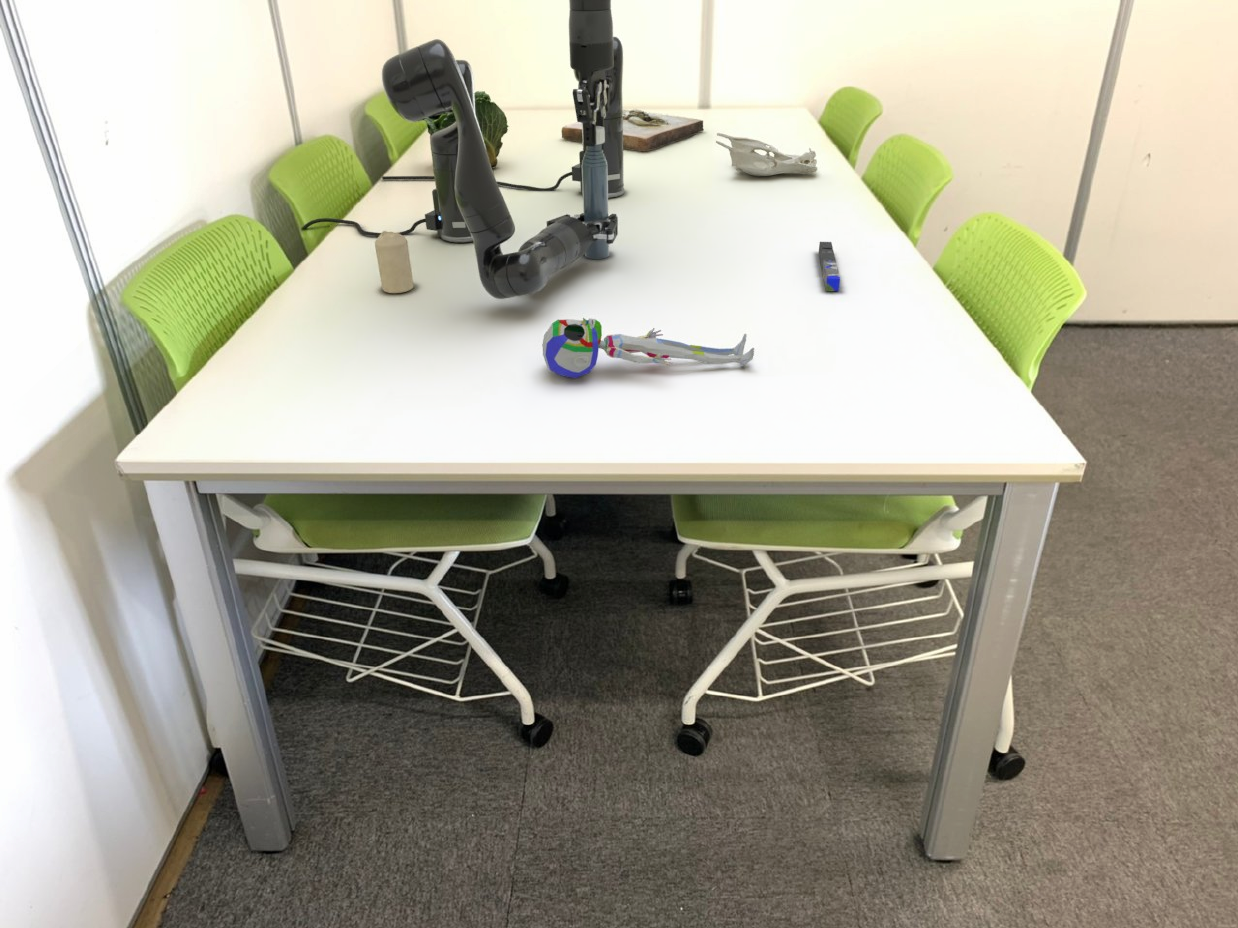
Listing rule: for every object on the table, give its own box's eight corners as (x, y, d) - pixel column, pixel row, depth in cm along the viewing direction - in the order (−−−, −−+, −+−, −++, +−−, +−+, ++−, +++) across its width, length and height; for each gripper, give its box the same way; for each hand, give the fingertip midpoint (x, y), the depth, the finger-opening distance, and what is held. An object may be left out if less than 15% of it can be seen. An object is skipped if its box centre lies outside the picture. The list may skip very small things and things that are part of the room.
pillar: (831, 242, 170) (840, 279, 154) (830, 253, 172) (838, 291, 155) (819, 241, 171) (827, 279, 154) (818, 252, 172) (825, 291, 155)
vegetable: (456, 190, 238) (411, 121, 230) (516, 151, 239) (474, 80, 231) (465, 191, 219) (416, 116, 212) (530, 148, 221) (484, 71, 213)
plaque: (647, 125, 237) (559, 112, 252) (647, 153, 241) (560, 139, 256) (706, 107, 258) (622, 97, 273) (705, 133, 262) (622, 121, 277)
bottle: (580, 257, 172) (575, 134, 160) (591, 249, 176) (588, 128, 164) (602, 260, 170) (599, 136, 158) (613, 253, 174) (611, 131, 162)
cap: (578, 143, 161) (578, 129, 160) (589, 139, 164) (589, 125, 163) (598, 145, 160) (597, 131, 158) (608, 141, 162) (608, 127, 161)
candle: (419, 284, 161) (411, 229, 156) (403, 295, 157) (395, 239, 151) (392, 280, 162) (384, 226, 157) (376, 291, 158) (367, 236, 153)
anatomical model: (717, 129, 225) (818, 128, 221) (717, 166, 230) (815, 166, 226) (714, 143, 213) (820, 142, 209) (713, 182, 217) (817, 182, 214)
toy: (760, 346, 125) (547, 329, 121) (748, 400, 130) (541, 385, 125) (744, 318, 134) (544, 300, 129) (733, 369, 138) (539, 354, 134)
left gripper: (596, 228, 154) (636, 201, 167) (523, 218, 159) (568, 193, 172) (597, 270, 158) (636, 241, 171) (526, 259, 163) (570, 232, 176)
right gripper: (584, 32, 159) (588, 133, 169) (555, 43, 148) (560, 151, 157) (625, 34, 157) (626, 135, 166) (598, 45, 146) (600, 153, 155)
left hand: (602, 217), depth 172 cm, fingers closed on bottle, 4 cm apart
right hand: (594, 142), depth 162 cm, fingers closed on cap, 3 cm apart
